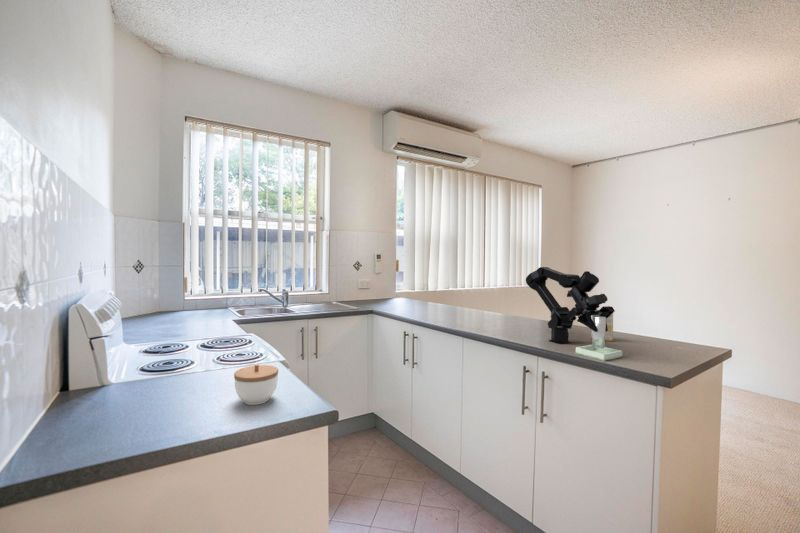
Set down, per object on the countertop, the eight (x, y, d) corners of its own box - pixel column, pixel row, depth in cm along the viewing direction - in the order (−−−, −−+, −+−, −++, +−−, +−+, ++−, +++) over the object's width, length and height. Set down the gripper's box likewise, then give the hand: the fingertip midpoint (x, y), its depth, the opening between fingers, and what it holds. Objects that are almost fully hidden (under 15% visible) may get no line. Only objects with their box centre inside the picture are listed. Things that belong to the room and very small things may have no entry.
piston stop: (589, 345, 145) (590, 315, 145) (600, 345, 146) (601, 315, 145) (596, 348, 141) (597, 317, 141) (607, 348, 141) (608, 317, 141)
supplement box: (610, 339, 172) (611, 311, 171) (612, 341, 167) (613, 313, 167) (590, 337, 174) (591, 310, 174) (592, 340, 170) (593, 312, 169)
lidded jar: (246, 412, 88) (246, 374, 88) (226, 400, 95) (226, 365, 95) (286, 400, 96) (286, 364, 96) (265, 389, 103) (265, 356, 103)
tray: (575, 353, 146) (575, 347, 146) (593, 350, 151) (593, 344, 151) (603, 361, 136) (604, 354, 135) (622, 357, 141) (622, 350, 141)
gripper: (573, 287, 144) (593, 320, 134) (611, 286, 149) (634, 318, 138) (558, 304, 152) (577, 336, 142) (596, 303, 157) (616, 334, 146)
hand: (601, 331), depth 142 cm, fingers closed on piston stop, 4 cm apart
